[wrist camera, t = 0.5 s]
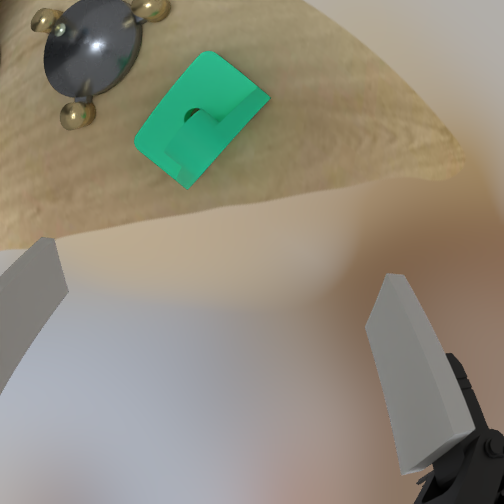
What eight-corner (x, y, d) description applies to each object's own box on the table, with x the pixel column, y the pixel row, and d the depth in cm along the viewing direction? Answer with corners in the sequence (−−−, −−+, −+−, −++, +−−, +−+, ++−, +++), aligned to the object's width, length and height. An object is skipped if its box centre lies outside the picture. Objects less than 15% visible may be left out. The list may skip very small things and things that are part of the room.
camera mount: (212, 50, 24) (183, 31, 15) (270, 97, 26) (270, 100, 17) (140, 139, 29) (90, 163, 20) (193, 182, 31) (162, 222, 22)
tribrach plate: (18, 75, 24) (3, 77, 21) (88, -38, 17) (75, -44, 14) (90, 132, 28) (76, 137, 26) (180, 7, 21) (171, 0, 19)
